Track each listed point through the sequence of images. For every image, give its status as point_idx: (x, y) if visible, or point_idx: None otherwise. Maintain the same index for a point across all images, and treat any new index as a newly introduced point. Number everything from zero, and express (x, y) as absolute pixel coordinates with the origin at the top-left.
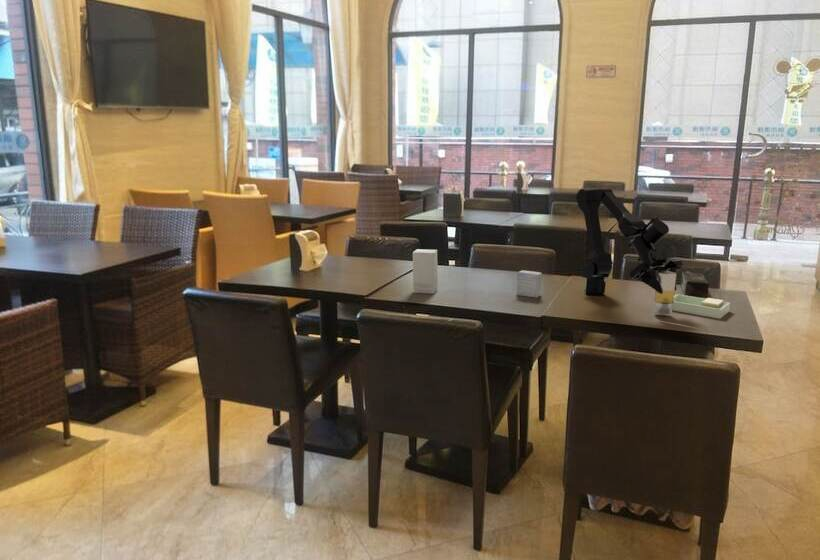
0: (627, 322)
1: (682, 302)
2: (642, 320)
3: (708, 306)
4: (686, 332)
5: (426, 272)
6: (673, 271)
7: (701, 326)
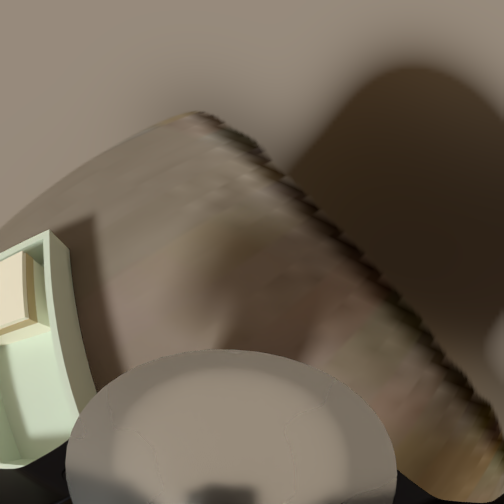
0: (421, 396)
1: (12, 441)
2: None
3: (32, 291)
4: (316, 217)
5: None
6: (21, 490)
7: (198, 233)
